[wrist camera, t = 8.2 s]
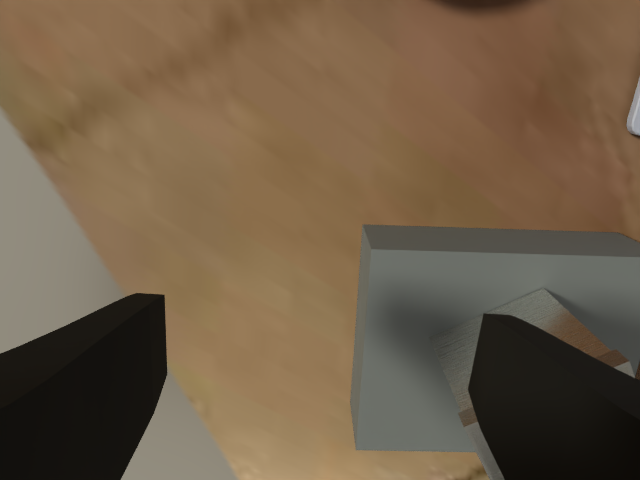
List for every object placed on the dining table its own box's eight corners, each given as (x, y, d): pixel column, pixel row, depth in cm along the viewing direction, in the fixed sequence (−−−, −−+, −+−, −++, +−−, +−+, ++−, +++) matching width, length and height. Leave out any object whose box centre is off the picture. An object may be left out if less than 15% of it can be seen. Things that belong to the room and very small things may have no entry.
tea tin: (545, 284, 18) (629, 361, 13) (582, 381, 19) (671, 483, 14) (425, 336, 18) (463, 427, 13) (470, 426, 20) (519, 537, 15)
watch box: (619, 229, 21) (678, 258, 17) (575, 401, 24) (619, 454, 20) (361, 221, 20) (371, 249, 17) (349, 397, 23) (355, 450, 20)
